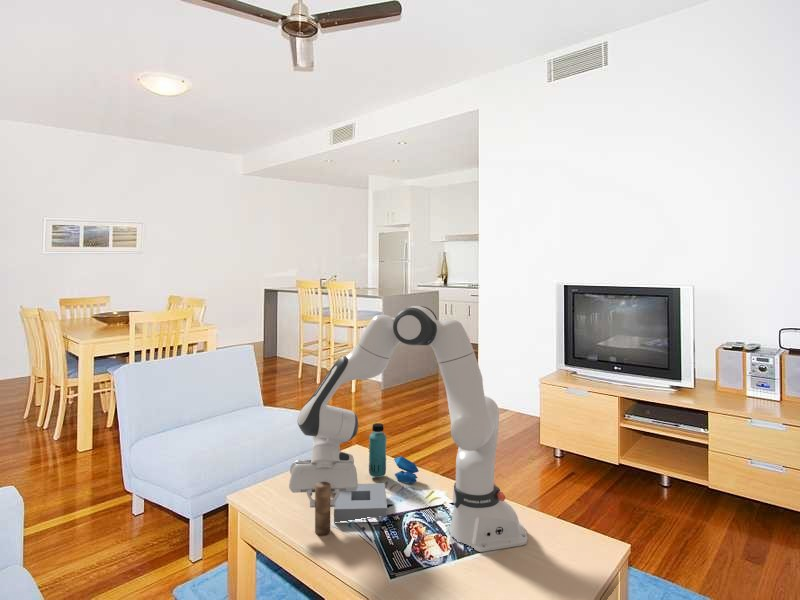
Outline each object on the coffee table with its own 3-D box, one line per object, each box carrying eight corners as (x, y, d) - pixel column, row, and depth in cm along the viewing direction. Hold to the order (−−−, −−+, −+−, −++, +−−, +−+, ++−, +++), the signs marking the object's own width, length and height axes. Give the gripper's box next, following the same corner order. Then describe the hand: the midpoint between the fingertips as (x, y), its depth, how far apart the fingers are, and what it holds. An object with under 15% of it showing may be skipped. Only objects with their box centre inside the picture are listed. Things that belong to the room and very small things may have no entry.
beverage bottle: (384, 472, 178) (384, 420, 176) (388, 480, 171) (388, 426, 170) (367, 474, 176) (367, 421, 175) (370, 482, 170) (370, 428, 168)
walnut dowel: (330, 527, 141) (330, 481, 140) (329, 535, 137) (329, 488, 135) (315, 527, 141) (315, 482, 140) (314, 536, 136) (314, 489, 135)
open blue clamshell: (417, 470, 165) (389, 457, 170) (411, 491, 167) (384, 477, 171) (425, 463, 171) (398, 450, 176) (420, 483, 173) (393, 470, 178)
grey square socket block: (384, 496, 160) (384, 483, 160) (386, 522, 144) (387, 507, 144) (336, 497, 159) (336, 484, 158) (333, 523, 143) (334, 509, 142)
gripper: (290, 456, 143) (284, 504, 134) (358, 455, 145) (357, 502, 136) (292, 464, 148) (287, 511, 139) (358, 463, 149) (357, 509, 141)
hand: (322, 506), depth 137 cm, fingers closed on walnut dowel, 4 cm apart
